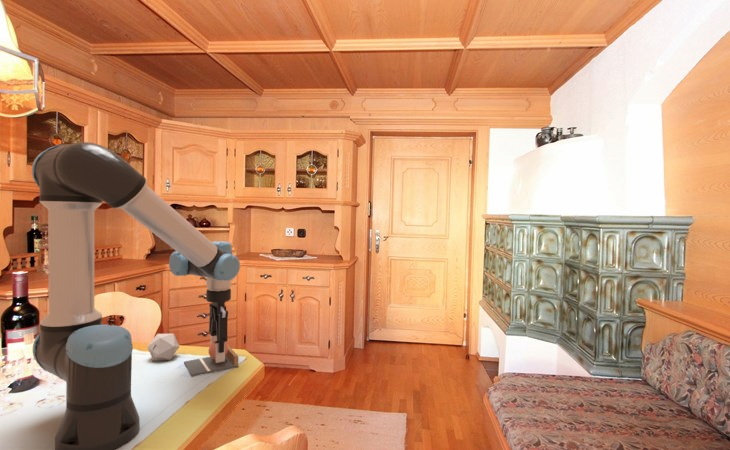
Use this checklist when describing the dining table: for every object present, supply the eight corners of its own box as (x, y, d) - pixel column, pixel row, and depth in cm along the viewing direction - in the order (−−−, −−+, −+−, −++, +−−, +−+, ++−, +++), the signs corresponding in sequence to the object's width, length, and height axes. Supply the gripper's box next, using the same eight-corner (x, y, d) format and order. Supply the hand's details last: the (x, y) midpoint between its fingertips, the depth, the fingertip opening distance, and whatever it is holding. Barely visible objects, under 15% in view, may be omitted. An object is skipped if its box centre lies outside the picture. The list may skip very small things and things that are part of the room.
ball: (211, 364, 120) (211, 345, 120) (206, 357, 125) (206, 340, 125) (230, 360, 124) (230, 342, 124) (225, 354, 129) (225, 336, 128)
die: (147, 358, 129) (139, 341, 123) (170, 339, 135) (163, 322, 129) (163, 371, 126) (156, 354, 120) (186, 351, 132) (180, 334, 126)
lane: (191, 376, 114) (191, 364, 114) (184, 363, 124) (184, 352, 124) (238, 367, 122) (238, 356, 122) (227, 355, 132) (227, 344, 132)
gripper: (239, 292, 118) (237, 365, 119) (222, 282, 134) (221, 347, 134) (214, 295, 114) (212, 371, 114) (200, 284, 129) (198, 351, 130)
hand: (217, 358), depth 124 cm, fingers closed on ball, 6 cm apart
